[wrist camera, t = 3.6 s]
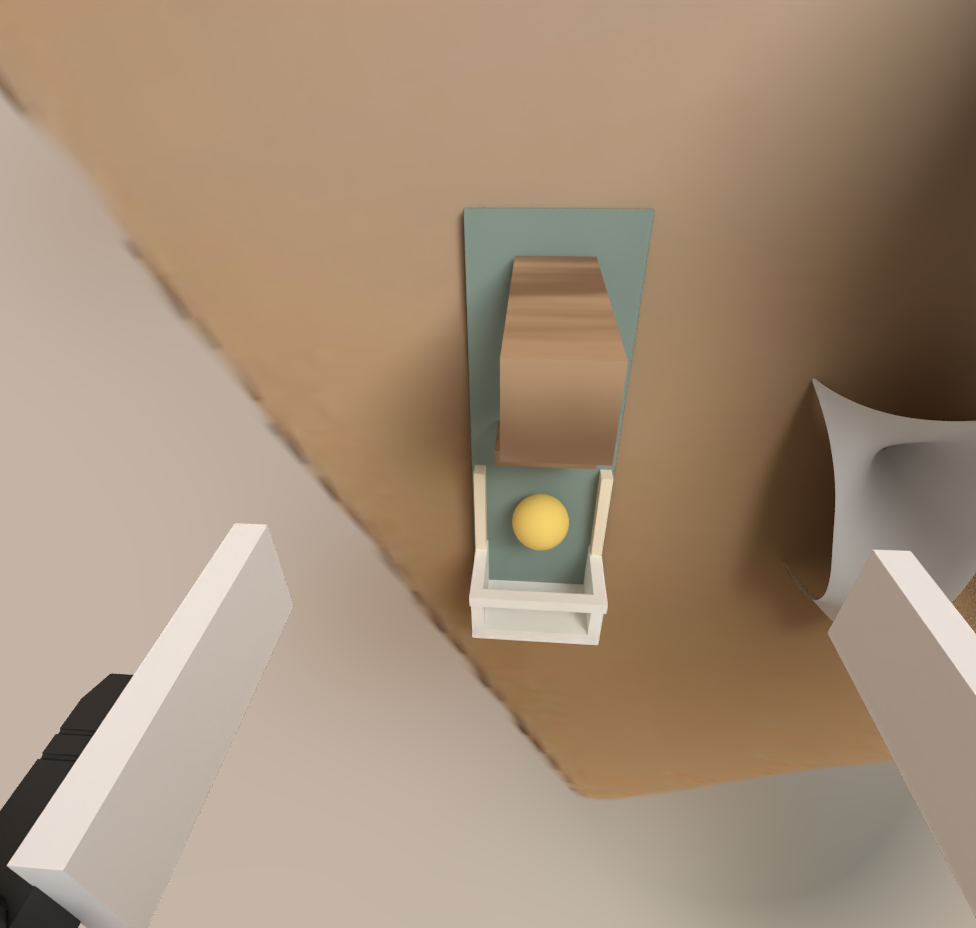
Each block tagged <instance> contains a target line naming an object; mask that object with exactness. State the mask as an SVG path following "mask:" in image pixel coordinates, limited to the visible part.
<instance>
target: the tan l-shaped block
mask: <svg viewBox="0 0 976 928" xmlns="http://www.w3.org/2000/svg"><path fill="white" fill-rule="evenodd" d="M627 364H628V360H627V357H626V353H625V350H624V347H623V343H622V340H621V337H620V333H619V330H618V327H617V323H616V320H615V316H614V313H613V310H612V306H611V303H610V300H609V296H608V293H607V290H606V286H605V283H604V280H603V276H602V273H601V269H600V266H599V263H598V259H597V257H591V256H515V258H514V265H513V272H512V279H511V286H510V293H509V300H508V307H507V314H506V321H505V328H504V335H503V342H502V349H501V356H500V421H498V427H497V435H496V444H495V466H520V467H546V468H572V469H596V466H597V465H608V466H612V465H613V458H614V452H615V445H616V438H617V432H618V425H619V418H620V411H621V405H622V398H623V391H624V385H625V378H626V371H627Z"/></svg>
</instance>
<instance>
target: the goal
mask: <svg viewBox="0 0 976 928" xmlns="http://www.w3.org/2000/svg"><path fill="white" fill-rule="evenodd" d="M469 605H470V606H471V613H472V638H487V639H504V640H520V641H537V642H554V643H570V644H587V645H598V643H599V637H600V631H601V625H602V619H603V614H606V613H607V607H608V603H607V595H606V587H605V579H604V571H603V563H602V556H596V555H591V548H590V545H589V547H588V554H587V562H586V569H585V577H584V584H564V583H545V582H526V581H507V580H489V545H488V540H487V545H486V550H476V552H475V559H474V566H473V574H472V581H471V588H470V596H469Z"/></svg>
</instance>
